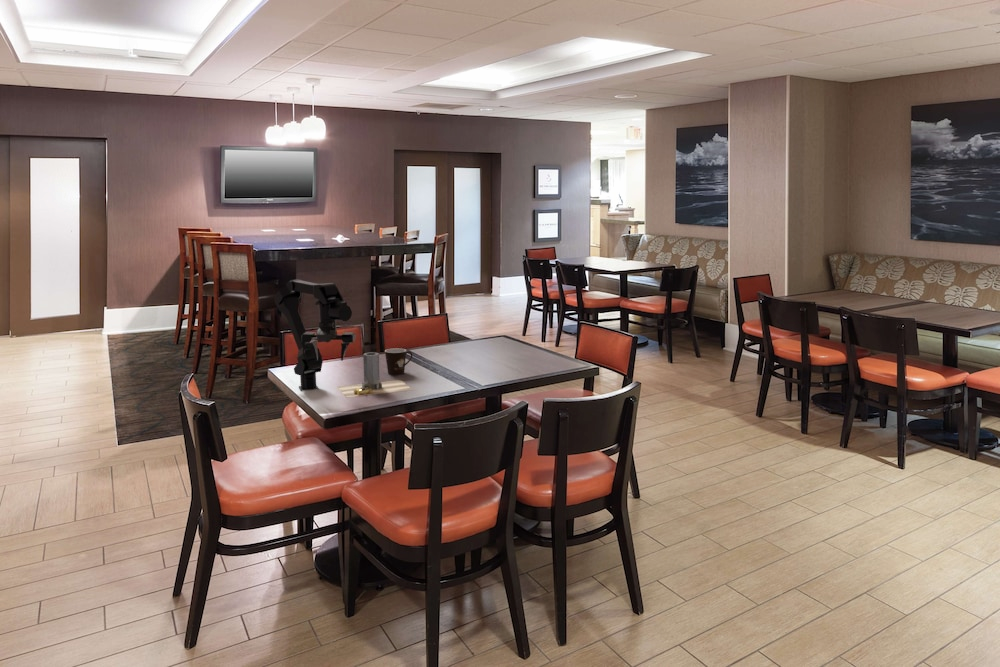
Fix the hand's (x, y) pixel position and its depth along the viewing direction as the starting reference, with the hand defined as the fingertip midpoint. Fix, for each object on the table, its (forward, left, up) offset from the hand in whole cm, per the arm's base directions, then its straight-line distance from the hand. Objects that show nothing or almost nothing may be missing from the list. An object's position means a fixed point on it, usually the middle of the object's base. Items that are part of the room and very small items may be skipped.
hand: (329, 360), depth 272 cm
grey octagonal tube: (-2, +16, -12) cm, 20 cm away
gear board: (-1, +17, -13) cm, 21 cm away
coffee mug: (-20, +32, -13) cm, 40 cm away
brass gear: (+4, +11, -12) cm, 17 cm away
